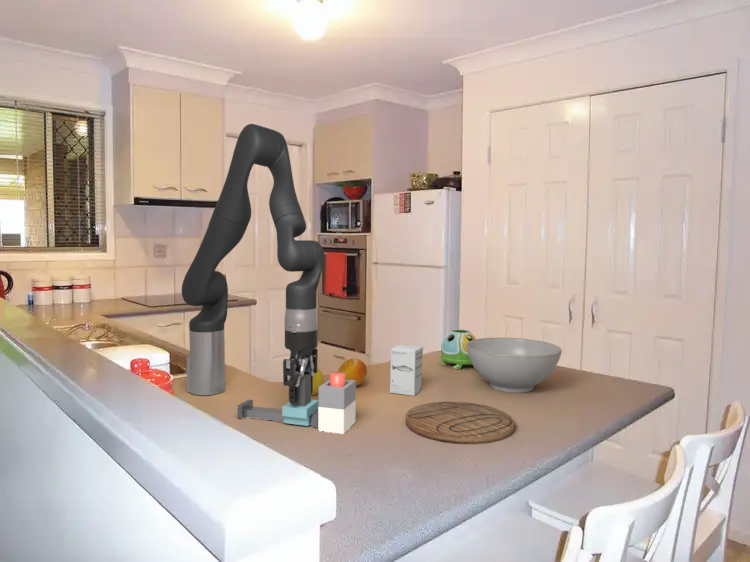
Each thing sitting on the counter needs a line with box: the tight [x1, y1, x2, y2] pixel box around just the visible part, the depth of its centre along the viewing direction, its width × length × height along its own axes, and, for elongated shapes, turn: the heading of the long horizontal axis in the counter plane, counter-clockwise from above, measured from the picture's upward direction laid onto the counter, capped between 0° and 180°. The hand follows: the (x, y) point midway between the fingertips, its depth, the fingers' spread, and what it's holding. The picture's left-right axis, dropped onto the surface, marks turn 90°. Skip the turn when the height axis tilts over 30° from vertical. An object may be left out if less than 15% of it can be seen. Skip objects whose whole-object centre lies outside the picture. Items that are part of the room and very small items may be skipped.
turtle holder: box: [440, 328, 477, 370], centre depth 186 cm, size 12×18×12 cm
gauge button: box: [329, 371, 345, 387], centre depth 126 cm, size 3×3×6 cm
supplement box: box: [389, 344, 424, 397], centre depth 155 cm, size 7×7×13 cm
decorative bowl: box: [466, 337, 563, 394], centre depth 161 cm, size 27×27×12 cm
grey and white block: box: [317, 379, 357, 435], centre depth 126 cm, size 6×8×10 cm
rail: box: [237, 399, 318, 429], centre depth 130 cm, size 20×5×3 cm, turn 73°
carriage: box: [281, 374, 319, 427], centre depth 129 cm, size 6×7×11 cm
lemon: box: [311, 367, 325, 396], centre depth 151 cm, size 6×6×8 cm
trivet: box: [405, 401, 515, 445], centre depth 129 cm, size 25×25×2 cm
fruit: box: [337, 357, 368, 387], centre depth 160 cm, size 8×9×8 cm
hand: (301, 397), depth 129 cm, fingers open, 7 cm apart
